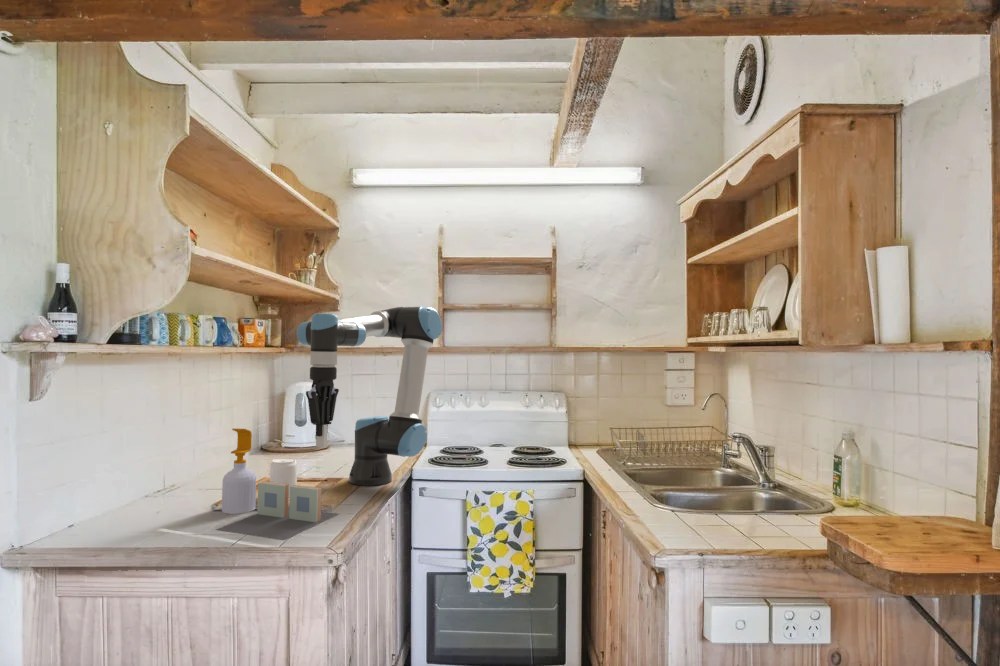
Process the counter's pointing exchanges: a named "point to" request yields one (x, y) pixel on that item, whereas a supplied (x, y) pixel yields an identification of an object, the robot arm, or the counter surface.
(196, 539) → the counter surface
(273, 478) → the beverage can
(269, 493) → the tile
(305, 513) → the tile
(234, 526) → the mat
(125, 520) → the counter surface
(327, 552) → the counter surface
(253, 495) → the soap bottle
